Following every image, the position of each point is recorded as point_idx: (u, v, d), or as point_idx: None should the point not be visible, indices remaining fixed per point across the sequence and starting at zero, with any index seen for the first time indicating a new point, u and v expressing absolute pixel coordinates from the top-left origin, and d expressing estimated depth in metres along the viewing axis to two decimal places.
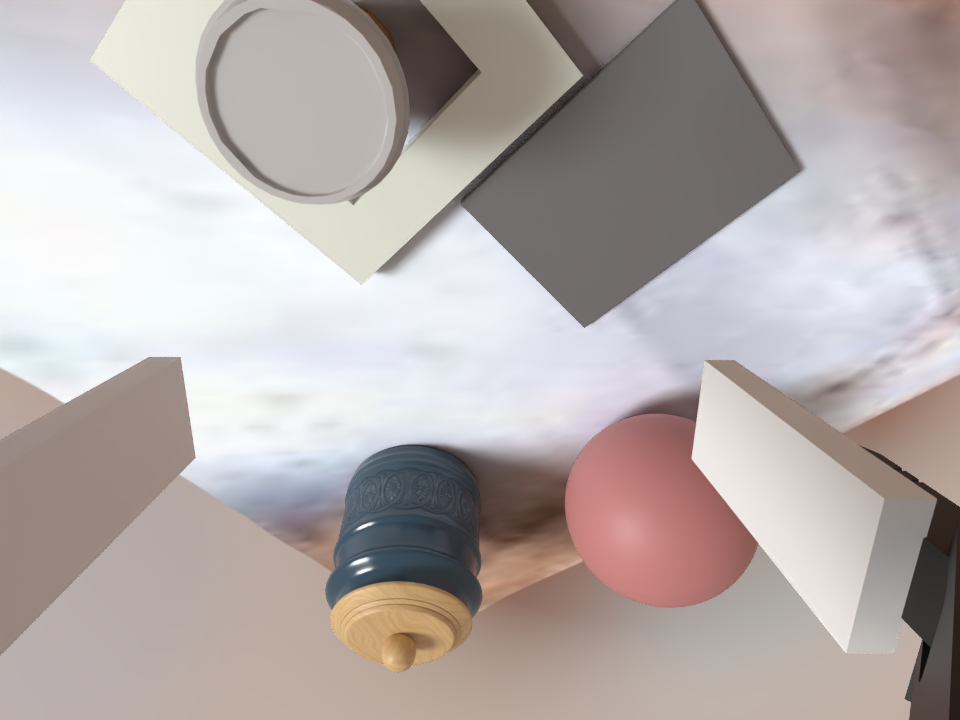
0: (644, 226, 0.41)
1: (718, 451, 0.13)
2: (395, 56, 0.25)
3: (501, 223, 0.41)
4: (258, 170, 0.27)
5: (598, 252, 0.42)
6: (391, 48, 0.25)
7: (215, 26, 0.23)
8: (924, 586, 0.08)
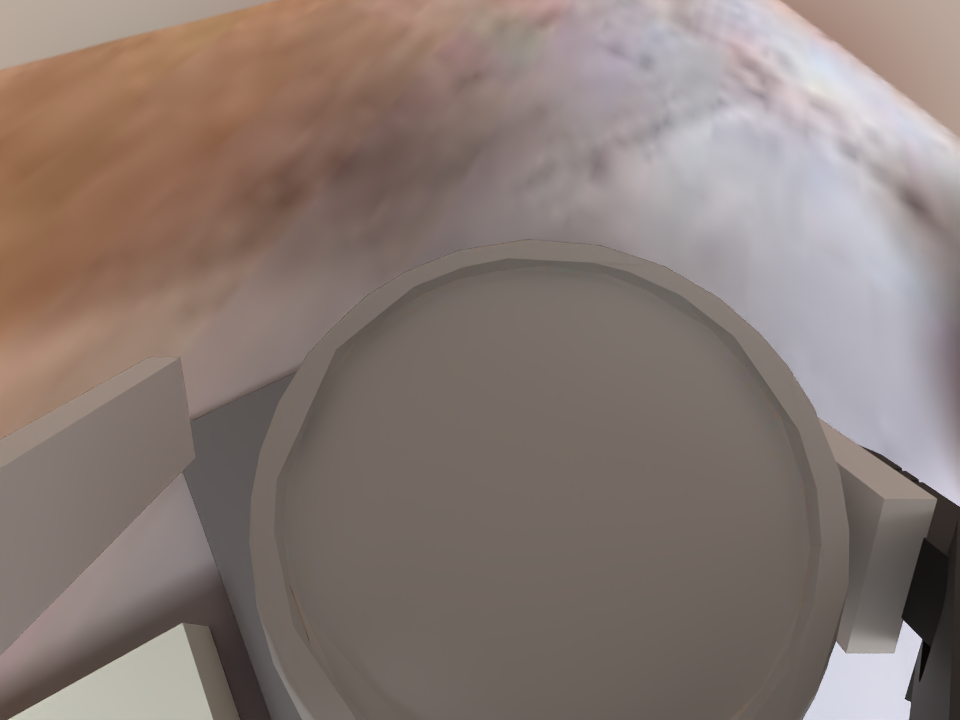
0: None
1: None
2: None
3: None
4: (717, 709, 0.07)
5: None
6: None
7: (269, 628, 0.08)
8: (924, 586, 0.08)
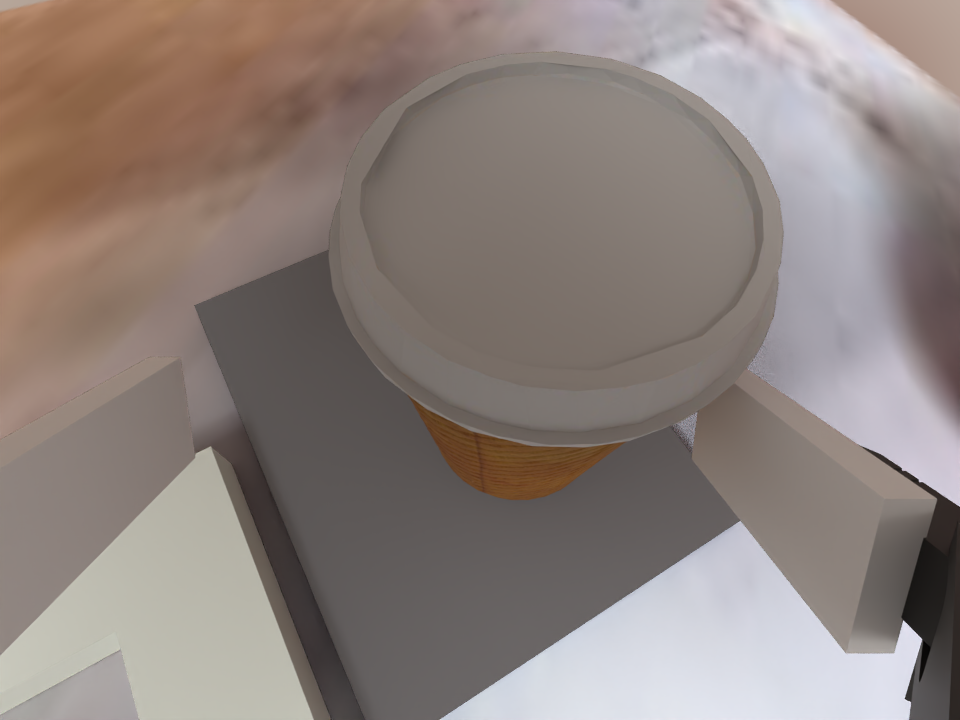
0: None
1: (718, 451, 0.14)
2: None
3: (452, 664, 0.18)
4: (684, 335, 0.10)
5: None
6: None
7: (358, 267, 0.10)
8: (924, 586, 0.08)
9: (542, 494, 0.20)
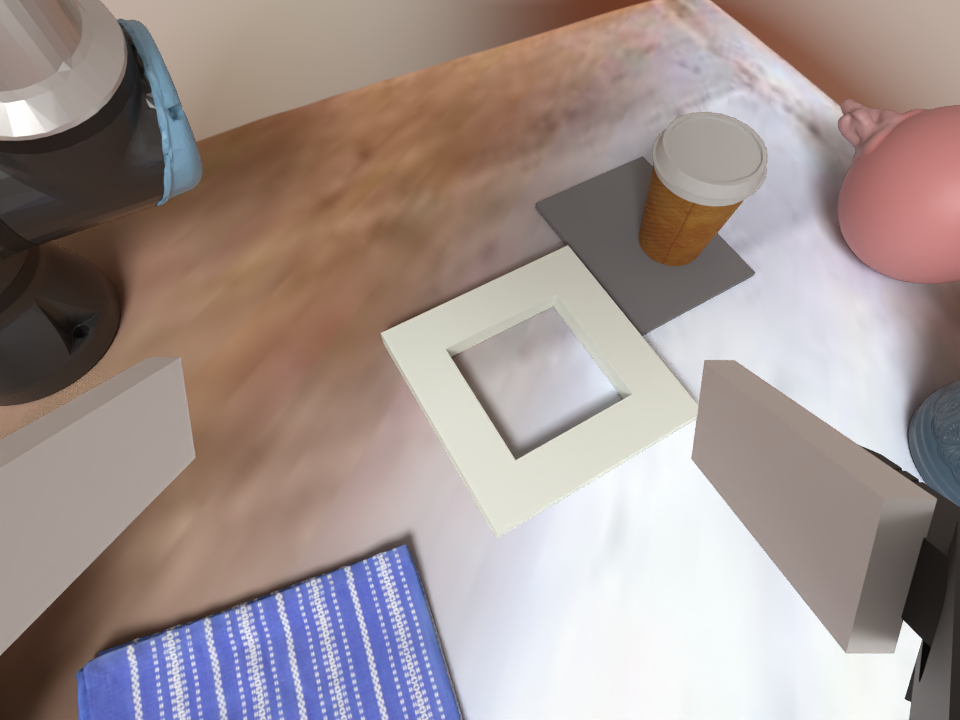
0: None
1: (717, 451, 0.14)
2: None
3: (659, 311, 0.54)
4: (746, 177, 0.46)
5: None
6: None
7: (673, 163, 0.47)
8: (924, 586, 0.08)
9: (685, 261, 0.56)
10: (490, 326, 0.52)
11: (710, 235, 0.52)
